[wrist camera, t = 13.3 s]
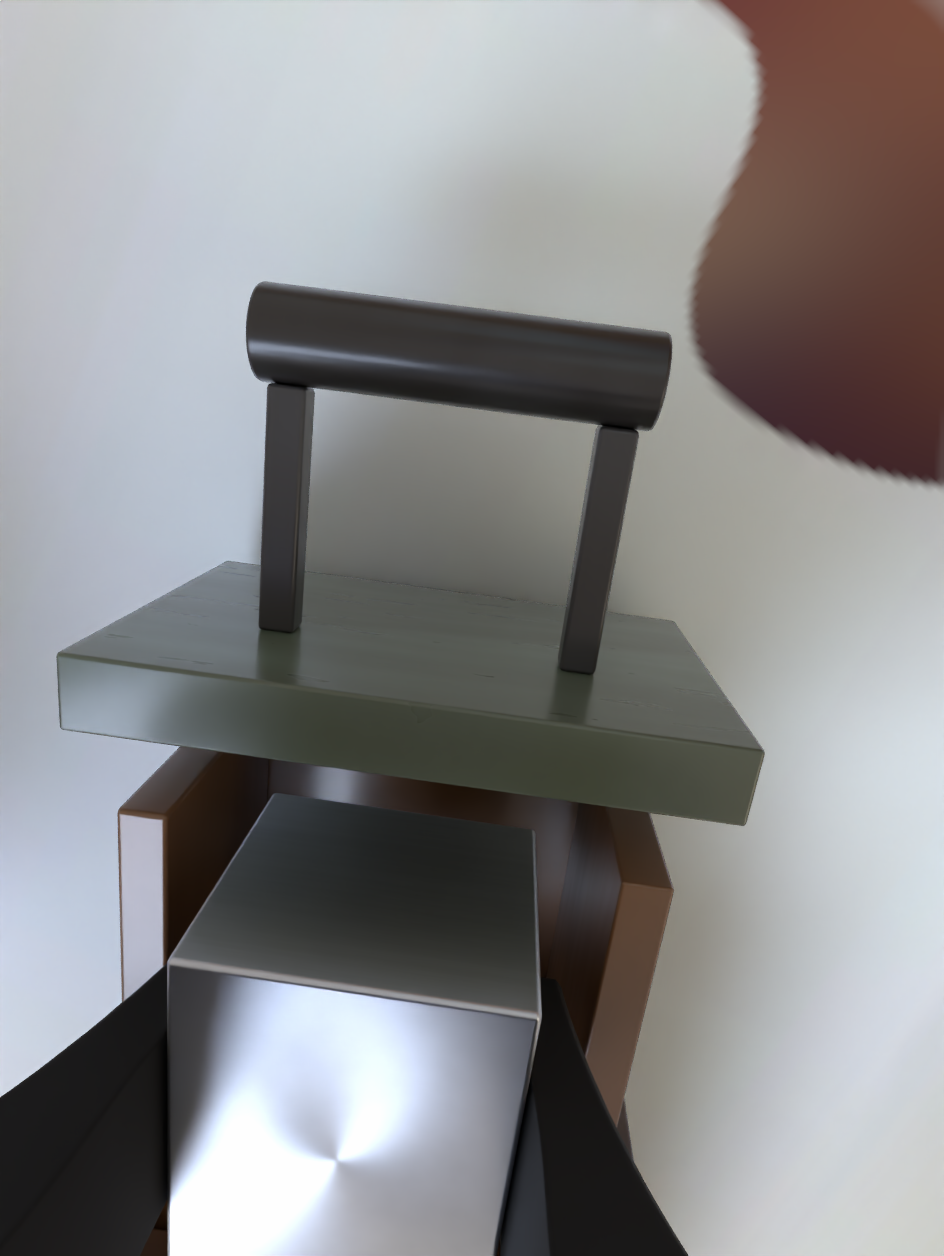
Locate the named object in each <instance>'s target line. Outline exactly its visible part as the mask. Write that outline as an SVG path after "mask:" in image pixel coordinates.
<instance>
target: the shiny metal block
mask: <svg viewBox="0 0 944 1256" xmlns="http://www.w3.org/2000/svg"><path fill="white" fill-rule="evenodd" d="M541 1019H542V1008H541V978H540V948H539V918H538V888H537V858H536V834H535V831H533V830H531V829H525V828H518V827H511V826H504V825H497V824H490V823H483V822H476V821H469V820H462V819H455V818H448V817H441V816H434V815H427V814H420V813H413V812H406V811H399V810H392V809H385V808H378V807H371V806H364V805H357V804H350V803H343V802H336V801H329V800H322V799H315V798H308V797H301V796H294V795H287V794H280V793H275V794H273V795H272V796H271V798H270V800H269V801H268V803H267V804H266V806H265V807H264V809H263V811H262V812H261V814H260V815H259V817H258V819H257V820H256V822H255V823H254V825H253V826H252V828H251V830H250V831H249V833H248V834H247V836H246V837H245V839H244V841H243V842H242V844H241V845H240V847H239V849H238V850H237V852H236V853H235V855H234V856H233V858H232V860H231V861H230V863H229V864H228V866H227V867H226V869H225V871H224V872H223V874H222V875H221V877H220V879H219V880H218V882H217V883H216V885H215V886H214V888H213V890H212V891H211V893H210V894H209V896H208V897H207V899H206V901H205V902H204V904H203V905H202V907H201V909H200V910H199V912H198V913H197V915H196V916H195V918H194V920H193V921H192V923H191V924H190V926H189V927H188V929H187V931H186V932H185V934H184V935H183V937H182V939H181V940H180V942H179V943H178V945H177V946H176V948H175V950H174V951H173V953H172V954H171V956H170V958H169V959H168V962H167V1170H168V1256H497V1250H498V1245H499V1240H500V1234H501V1229H502V1224H503V1219H504V1213H505V1208H506V1203H507V1198H508V1192H509V1187H510V1182H511V1177H512V1171H513V1166H514V1161H515V1155H516V1150H517V1145H518V1140H519V1134H520V1129H521V1124H522V1119H523V1113H524V1108H525V1103H526V1098H527V1092H528V1087H529V1082H530V1076H531V1071H532V1066H533V1061H534V1055H535V1050H536V1045H537V1040H538V1034H539V1029H540V1024H541Z"/></svg>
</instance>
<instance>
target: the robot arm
mask: <svg viewBox="0 0 944 1256" xmlns="http://www.w3.org/2000/svg"><path fill="white" fill-rule="evenodd" d="M540 978H541V1008H542V1019H541V1024H540V1029H539V1034H538V1040H537V1045H536V1050H535V1055H534V1061H533V1066H532V1071H531V1076H530V1082H529V1087H528V1092H527V1098H526V1103H525V1108H524V1113H523V1119H522V1124H521V1129H520V1134H519V1140H518V1145H517V1150H516V1155H515V1161H514V1166H513V1171H512V1177H511V1182H510V1187H509V1192H508V1198H507V1203H506V1208H505V1213H504V1219H503V1224H502V1229H501V1234H500V1254H501V1256H688V1254H687V1252H686V1251H685V1249H684V1248H683V1246H682V1244H681V1243H680V1241H679V1240H678V1238H677V1237H676V1235H675V1233H674V1232H673V1230H672V1228H671V1227H670V1225H669V1223H668V1222H667V1220H666V1218H665V1216H664V1215H663V1213H662V1211H661V1210H660V1208H659V1206H658V1205H657V1203H656V1201H655V1200H654V1198H653V1196H652V1194H651V1192H650V1191H649V1189H648V1187H647V1185H646V1183H645V1182H644V1180H643V1178H642V1176H641V1174H640V1172H639V1170H638V1169H637V1167H636V1165H635V1163H634V1161H633V1159H632V1157H631V1155H630V1153H629V1151H628V1149H627V1147H626V1145H625V1143H624V1141H623V1139H622V1137H621V1136H620V1134H619V1132H618V1129H617V1127H616V1125H615V1123H614V1121H613V1119H612V1117H611V1115H610V1113H609V1111H608V1108H607V1106H606V1104H605V1102H604V1099H603V1097H602V1095H601V1093H600V1090H599V1088H598V1086H597V1084H596V1081H595V1079H594V1077H593V1075H592V1072H591V1070H590V1067H589V1065H588V1063H587V1060H586V1058H585V1055H584V1053H583V1050H582V1048H581V1045H580V1042H579V1040H578V1037H577V1034H576V1032H575V1029H574V1026H573V1023H572V1021H571V1018H570V1015H569V1012H568V1009H567V1005H566V1002H565V999H564V996H563V992H562V988H561V986H560V984H559V983H558V982H557V981H556V979H550V978H543V977H540ZM167 1199H168V1170H167V963H166V964H165V965H164V966H163V967H162V968H161V969H160V970H159V971H158V972H157V973H155V974H154V975H153V976H152V977H151V978H150V979H149V980H148V981H146V982H145V983H144V984H143V985H142V986H141V987H140V988H139V989H137V990H136V991H135V992H134V993H133V994H132V995H130V996H129V997H128V998H127V999H126V1000H125V1001H123V1002H122V1003H121V1004H120V1005H119V1006H117V1007H116V1008H115V1009H114V1010H113V1011H112V1012H110V1013H109V1014H108V1015H107V1016H106V1017H105V1018H103V1019H102V1020H101V1021H100V1022H99V1023H97V1024H96V1025H95V1026H94V1027H93V1028H91V1029H90V1030H89V1031H88V1032H86V1033H85V1034H84V1035H83V1036H81V1037H80V1038H79V1039H77V1040H76V1041H75V1042H74V1043H72V1044H71V1045H70V1046H68V1047H67V1048H66V1049H65V1050H63V1051H62V1052H61V1053H60V1054H58V1055H57V1056H56V1057H54V1058H53V1059H52V1060H51V1061H49V1062H48V1063H47V1064H45V1065H44V1066H43V1067H42V1068H40V1069H39V1070H38V1071H36V1072H35V1073H33V1074H32V1075H31V1076H29V1077H28V1078H27V1079H25V1080H24V1081H22V1082H21V1083H20V1084H18V1085H17V1086H16V1087H14V1088H13V1089H11V1090H10V1091H9V1092H7V1093H6V1094H4V1095H3V1096H1V1097H0V1256H140V1254H141V1252H142V1250H143V1248H144V1246H145V1244H146V1242H147V1240H148V1238H149V1236H150V1234H151V1232H152V1230H153V1228H154V1226H155V1224H156V1222H157V1219H158V1217H159V1215H160V1213H161V1211H162V1209H163V1207H164V1205H165V1203H166V1201H167Z"/></svg>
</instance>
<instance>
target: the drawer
mask: <svg viewBox="0 0 944 1256" xmlns="http://www.w3.org/2000/svg"><path fill="white" fill-rule="evenodd" d="M246 344H247V352H248V358H249V362H250V366H251V369H252V371H253V373H254V375H255V377H256V378H257V379H259V380H261V381H263V382H271V384H269V385H268V387H267V410H266V436H265V463H264V489H263V516H262V542H261V565H255V564H247V563H240V562H232V561H226V562H224V563H223V564H221V565H219V566H217V567H215V568H213V569H212V570H210V571H208V572H206V573H204V574H202V575H200V576H199V577H197V578H195V579H193V580H191V581H189V582H188V583H186V584H184V585H182V586H180V587H178V588H176V589H175V590H173V591H171V592H169V593H167V594H165V595H163V596H162V597H160V598H158V599H156V600H154V601H152V602H151V603H149V604H147V605H145V606H143V607H141V608H139V609H138V610H136V611H134V612H132V613H130V614H128V615H127V616H125V617H123V618H121V619H119V620H117V621H115V622H114V623H112V624H110V625H108V626H106V627H104V628H103V629H101V630H99V631H97V632H95V633H93V634H91V635H90V636H88V637H86V638H84V639H82V640H80V641H79V642H77V643H75V644H73V645H71V646H69V647H67V648H66V649H64V650H62V651H60V652H58V654H57V676H58V697H59V717H60V728H61V729H63V730H69V731H76V732H83V733H90V734H97V735H104V736H111V737H118V738H125V739H132V740H140V741H147V742H154V743H161V744H168V745H175V746H180V747H179V748H178V749H177V750H176V751H175V753H174V754H173V755H172V756H171V757H170V758H169V759H168V760H167V761H166V762H165V763H164V764H163V765H162V766H161V767H160V768H159V769H158V770H157V771H156V772H155V773H154V774H153V775H152V776H151V777H150V778H149V779H148V780H147V781H146V782H145V783H144V784H143V785H142V786H141V787H140V788H139V789H138V790H137V791H136V792H135V793H134V794H133V795H132V796H131V797H130V798H129V799H128V800H127V801H126V802H125V803H124V804H123V805H122V806H121V807H120V808H119V810H118V850H119V893H120V935H121V977H122V1002H123V1001H125V1000H126V999H127V998H128V997H129V996H130V995H132V994H133V993H134V992H135V991H136V990H137V989H139V988H140V987H141V986H142V985H143V984H144V983H145V982H146V981H148V980H149V979H150V978H151V977H152V976H153V975H154V974H155V973H157V972H158V971H159V970H160V969H161V968H162V967H163V966H164V965H165V964H166V963H167V962H168V959H169V958H170V956H171V954H172V953H173V951H174V950H175V948H176V946H177V945H178V943H179V942H180V940H181V939H182V937H183V935H184V934H185V932H186V931H187V929H188V927H189V926H190V924H191V923H192V921H193V920H194V918H195V916H196V915H197V913H198V912H199V910H200V909H201V907H202V905H203V904H204V902H205V901H206V899H207V897H208V896H209V894H210V893H211V891H212V890H213V888H214V886H215V885H216V883H217V882H218V880H219V879H220V877H221V875H222V874H223V872H224V871H225V869H226V867H227V866H228V864H229V863H230V861H231V860H232V858H233V856H234V855H235V853H236V852H237V850H238V849H239V847H240V845H241V844H242V842H243V841H244V839H245V837H246V836H247V834H248V833H249V831H250V830H251V828H252V826H253V825H254V823H255V822H256V820H257V819H258V817H259V815H260V814H261V812H262V811H263V809H264V807H265V806H266V804H267V803H268V801H269V800H270V798H271V796H272V795H273V794H275V793H280V794H287V795H294V796H301V797H308V798H315V799H322V800H329V801H336V802H343V803H350V804H357V805H364V806H371V807H378V808H385V809H392V810H399V811H406V812H413V813H420V814H427V815H434V816H441V817H448V818H455V819H462V820H469V821H476V822H483V823H490V824H497V825H504V826H511V827H518V828H525V829H531V830H533V831H535V834H536V858H537V888H538V918H539V948H540V977H543V978H550V979H556V981H557V982H558V983H559V984H560V986H561V988H562V992H563V996H564V999H565V1002H566V1005H567V1009H568V1012H569V1015H570V1018H571V1021H572V1023H573V1026H574V1029H575V1032H576V1034H577V1037H578V1040H579V1042H580V1045H581V1048H582V1050H583V1053H584V1055H585V1058H586V1060H587V1063H588V1065H589V1067H590V1070H591V1072H592V1075H593V1077H594V1079H595V1081H596V1084H597V1086H598V1088H599V1090H600V1093H601V1095H602V1097H603V1099H604V1102H605V1104H606V1106H607V1108H608V1111H609V1113H610V1115H611V1117H612V1119H613V1121H614V1123H615V1125H616V1127H617V1124H618V1120H619V1116H620V1112H621V1108H622V1104H623V1100H624V1095H625V1091H626V1087H627V1083H628V1079H629V1075H630V1071H631V1066H632V1062H633V1058H634V1054H635V1050H636V1046H637V1042H638V1038H639V1033H640V1029H641V1025H642V1021H643V1017H644V1013H645V1009H646V1004H647V1000H648V996H649V992H650V988H651V984H652V980H653V975H654V971H655V967H656V963H657V959H658V955H659V951H660V946H661V942H662V938H663V934H664V930H665V926H666V922H667V918H668V913H669V909H670V905H671V901H672V897H673V893H674V889H673V886H672V882H671V879H670V876H669V873H668V870H667V866H666V863H665V860H664V857H663V854H662V851H661V847H660V844H659V841H658V838H657V835H656V831H655V828H654V825H653V822H652V819H651V815H650V813H655V814H662V815H669V816H676V817H683V818H690V819H697V820H704V821H712V822H719V823H726V824H733V825H740V826H744V825H745V824H746V822H747V818H748V815H749V811H750V807H751V803H752V800H753V796H754V792H755V788H756V785H757V781H758V777H759V773H760V770H761V766H762V762H763V758H764V755H765V752H764V750H763V748H762V747H761V745H760V744H759V743H758V741H757V740H756V738H755V737H754V735H753V734H752V732H751V731H750V730H749V728H748V727H747V725H746V724H745V722H744V721H743V720H742V718H741V717H740V715H739V714H738V712H737V711H736V710H735V708H734V707H733V705H732V704H731V702H730V701H729V700H728V698H727V697H726V695H725V694H724V692H723V691H722V690H721V688H720V687H719V685H718V684H717V682H716V681H715V680H714V678H713V677H712V675H711V674H710V672H709V671H708V670H707V668H706V667H705V665H704V664H703V662H702V661H701V659H700V658H699V657H698V655H697V654H696V652H695V651H694V649H693V648H692V647H691V645H690V644H689V642H688V641H687V639H686V638H685V637H684V635H683V634H682V632H681V631H680V629H679V628H678V627H677V625H676V624H675V622H673V621H669V620H661V619H654V618H646V617H639V616H632V615H624V614H617V613H609V612H606V611H607V606H608V601H609V595H610V590H611V584H612V579H613V574H614V568H615V563H616V557H617V552H618V547H619V541H620V536H621V530H622V525H623V519H624V514H625V509H626V503H627V498H628V492H629V487H630V482H631V476H632V471H633V465H634V460H635V454H636V449H637V444H638V438H639V433H638V431H636V430H642V431H650V430H652V429H653V427H654V426H655V424H656V422H657V420H658V418H659V415H660V412H661V409H662V406H663V402H664V399H665V395H666V390H667V386H668V381H669V375H670V368H671V360H672V339H671V335H670V334H669V333H667V332H662V331H654V330H646V329H638V328H630V327H622V326H614V325H607V324H599V323H591V322H583V321H575V320H567V319H559V318H551V317H543V316H535V315H527V314H519V313H511V312H503V311H495V310H487V309H479V308H472V307H464V306H456V305H448V304H440V303H432V302H424V301H416V300H408V299H400V298H392V297H384V296H376V295H368V294H360V293H352V292H344V291H337V290H329V289H321V288H313V287H305V286H297V285H289V284H281V283H273V282H261V283H259V284H258V285H257V286H256V287H255V289H254V290H253V293H252V295H251V298H250V302H249V307H248V312H247V321H246ZM312 388H317V389H325V390H332V391H340V392H348V393H356V394H363V395H371V396H379V397H387V398H394V399H402V400H410V401H418V402H425V403H433V404H441V405H449V406H456V407H464V408H472V409H479V410H487V411H495V412H503V413H510V414H518V415H526V416H534V417H541V418H549V419H557V420H565V421H572V422H580V423H588V424H596V425H600V426H598V427H597V428H596V431H595V437H594V443H593V449H592V455H591V461H590V467H589V473H588V479H587V485H586V491H585V497H584V503H583V509H582V515H581V521H580V527H579V533H578V539H577V545H576V551H575V557H574V563H573V569H572V575H571V581H570V586H569V592H568V598H567V604H566V607H565V606H558V605H550V604H543V603H535V602H528V601H521V600H513V599H506V598H498V597H491V596H484V595H476V594H469V593H462V592H454V591H447V590H439V589H432V588H425V587H417V586H410V585H402V584H395V583H388V582H380V581H373V580H365V579H358V578H351V577H343V576H336V575H328V574H321V573H314V572H306V571H305V557H306V539H307V521H308V504H309V486H310V468H311V450H312V433H313V415H314V397H315V392H314V389H312ZM154 1228H157V1229H164V1230H168V1199H167V1201H166V1203H165V1205H164V1207H163V1209H162V1211H161V1213H160V1215H159V1217H158V1219H157V1222H156V1224H155V1226H154ZM497 1256H501V1254H500V1240H499V1245H498V1250H497Z"/></svg>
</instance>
